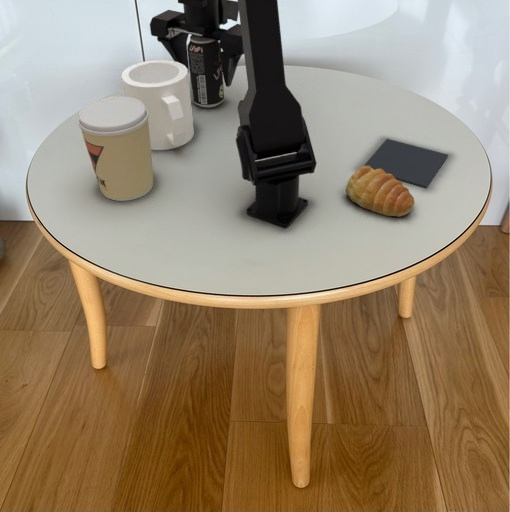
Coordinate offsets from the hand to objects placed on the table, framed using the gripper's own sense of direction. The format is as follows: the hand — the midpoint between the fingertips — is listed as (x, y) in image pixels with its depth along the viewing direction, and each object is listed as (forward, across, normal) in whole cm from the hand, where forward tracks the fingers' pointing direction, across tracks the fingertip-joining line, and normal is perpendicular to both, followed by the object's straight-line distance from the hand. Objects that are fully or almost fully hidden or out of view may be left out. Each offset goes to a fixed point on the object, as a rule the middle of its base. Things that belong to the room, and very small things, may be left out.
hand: (206, 80), depth 101 cm
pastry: (+4, -38, +13) cm, 40 cm away
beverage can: (+4, 0, 0) cm, 4 cm away
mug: (+4, -1, +14) cm, 15 cm away
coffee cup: (+4, -5, +28) cm, 29 cm away
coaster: (+4, -38, +2) cm, 38 cm away
